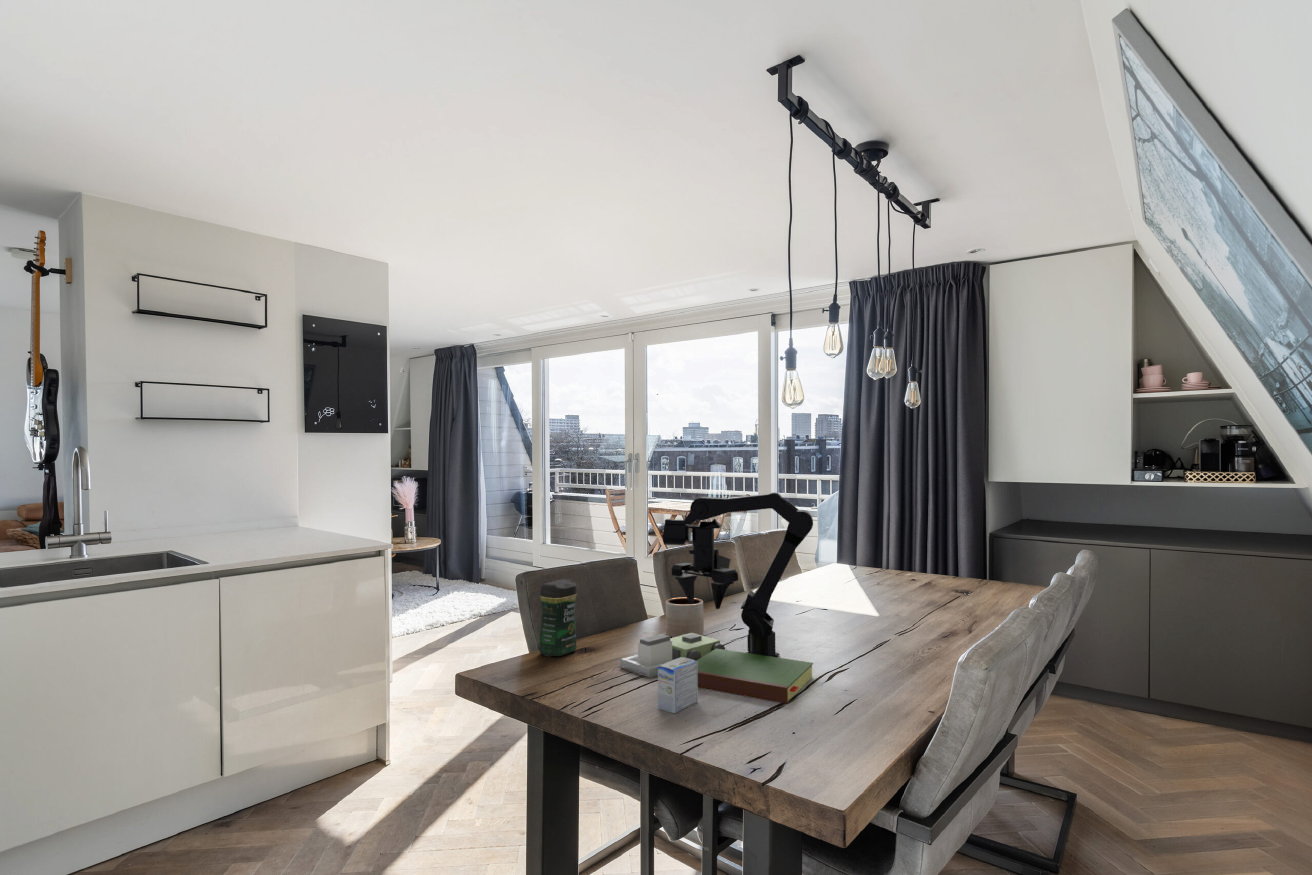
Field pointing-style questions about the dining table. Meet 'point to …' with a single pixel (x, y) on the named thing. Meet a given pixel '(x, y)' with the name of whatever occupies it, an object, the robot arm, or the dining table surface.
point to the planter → (684, 617)
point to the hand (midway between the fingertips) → (704, 606)
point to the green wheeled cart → (693, 646)
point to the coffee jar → (558, 618)
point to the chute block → (655, 650)
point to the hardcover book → (753, 675)
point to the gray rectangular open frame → (639, 666)
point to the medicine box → (677, 684)
